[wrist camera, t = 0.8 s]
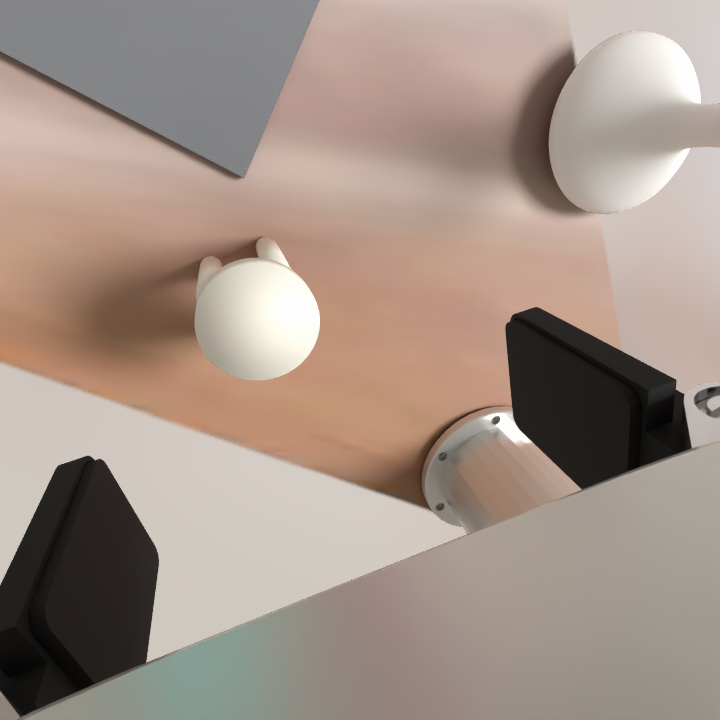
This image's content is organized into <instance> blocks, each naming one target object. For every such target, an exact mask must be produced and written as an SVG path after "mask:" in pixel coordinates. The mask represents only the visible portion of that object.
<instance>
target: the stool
mask: <svg viewBox="0 0 720 720" xmlns="http://www.w3.org/2000/svg"><path fill="white" fill-rule="evenodd" d="M256 251H257V254H258V257H259V258H246V259H240V260H237V261H234V262H231V263H229V264H227V265H225V266H223V267H222V263H221V261H220V260H219V259H218V258H216V257H214V256H207V257H205V258H204V259H203V260H202V261H201V263H200V269H199V276H198V282H197V289H196V301H197V305H196V311H195V324H194V325H195V333H196V337H197V341H198V343H199V345H200V348H201V349H202V351H203V353H204V354H205V355H206V357H207V358H208V359H209V360H210V361H211V362H212V363H213V364H214V365H215V366H216V367H217V368H219V369H220V370H222V371H223V372H225V373H227V374H229V375H232V376H234V377H237V378H241V379H246V380H268V379H273V378H276V377H279V376H282V375H284V374H286V373H288V372H290V371H292V370H293V369H295V368H296V367H297V366H299V365H300V364H301V363H302V362H303V361H304V360H305V359H306V358H307V356H308V355H309V354H310V352H311V351H312V349H313V347H314V345H315V343H316V340H317V337H318V333H319V327H320V317H319V310H318V307H317V303H316V301H315V299H314V296H313V295H312V293H311V291H310V290H309V288H308V287H307V285H306V283H305V282H304V281H303V279H302V278H301V277H300V276H299V275H298V274H297V273H296V272H295V271H293V270H292V269H291V268H290V266H289V265H288V263H287V261H286V259H285V258H284V256H283V254H282V252H281V250H280V249H279V247H278V245H277V243H276V242H275V240H274V239H272V238H271V237H267V236H265V237H261V238H260V239H259V240H258V241H257V243H256Z"/></svg>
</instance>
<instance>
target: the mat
mask: <svg viewBox="0 0 720 720" xmlns="http://www.w3.org/2000/svg"><path fill="white" fill-rule="evenodd" d="M318 2H319V0H0V52H2V53H4V54H6V55H8V56H10V57H12V58H14V59H16V60H18V61H20V62H22V63H24V64H25V65H27V66H29V67H31V68H33V69H35V70H37V71H39V72H41V73H43V74H45V75H47V76H49V77H50V78H52V79H54V80H56V81H58V82H60V83H62V84H64V85H66V86H68V87H70V88H72V89H74V90H75V91H77V92H79V93H81V94H83V95H85V96H87V97H89V98H91V99H93V100H95V101H97V102H99V103H100V104H102V105H104V106H106V107H108V108H110V109H112V110H114V111H116V112H118V113H120V114H122V115H124V116H125V117H127V118H129V119H131V120H133V121H135V122H137V123H139V124H141V125H143V126H145V127H147V128H149V129H150V130H152V131H154V132H156V133H158V134H160V135H162V136H164V137H166V138H168V139H170V140H172V141H174V142H175V143H177V144H179V145H181V146H183V147H185V148H187V149H189V150H191V151H193V152H195V153H197V154H199V155H201V156H202V157H204V158H206V159H208V160H210V161H212V162H214V163H216V164H218V165H220V166H222V167H224V168H226V169H227V170H229V171H231V172H233V173H235V174H237V175H239V176H241V177H243V178H244V177H245V175H246V172H247V170H248V168H249V165H250V163H251V161H252V158H253V156H254V153H255V151H256V149H257V146H258V144H259V142H260V139H261V137H262V135H263V132H264V130H265V128H266V125H267V123H268V120H269V118H270V116H271V113H272V111H273V109H274V106H275V104H276V102H277V99H278V97H279V94H280V92H281V90H282V87H283V85H284V83H285V80H286V78H287V76H288V73H289V71H290V69H291V66H292V64H293V61H294V59H295V57H296V54H297V52H298V50H299V47H300V45H301V43H302V40H303V38H304V35H305V33H306V31H307V28H308V26H309V24H310V21H311V19H312V17H313V14H314V12H315V10H316V7H317V5H318Z"/></svg>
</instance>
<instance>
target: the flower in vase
mask: <svg viewBox="0 0 720 720" xmlns="http://www.w3.org/2000/svg"><path fill="white" fill-rule="evenodd" d="M693 147H720V103H719V104H701V97H700V89H699V84H698V80H697V76H696V73H695V70H694V68H693V65H692V63H691V61H690V59H689V58H688V56H687V54H686V53H685V52H684V51H683V49H682V48H681V47H680V46H679V45H678V44H676V43H675V42H674V41H672V40H670V39H669V38H667V37H665V36H661V35H659V34H656V33H653V32H650V31H642V30H637V31H628V32H624V33H620V34H618V35H615V36H613V37H610V38H609V39H607V40H605V41H604V42H602V43H600V44H599V45H598V46H596V47H595V48H594V49H593V50H591V51H590V52H589V53H588V54H587V55H586V56H585V57H584V58H583V59H582V60H581V62H580V63H579V64H578V65H577V67H576V68H575V69H574V70H573V72H572V73H571V75H570V77H569V78H568V80H567V81H566V83H565V85H564V87H563V89H562V91H561V93H560V95H559V98H558V100H557V103H556V106H555V108H554V112H553V116H552V119H551V125H550V131H549V156H550V162H551V167H552V170H553V174H554V177H555V179H556V182H557V184H558V186H559V187H560V189H561V191H562V192H563V194H564V195H565V196H566V197H567V198H568V200H569V201H571V202H572V203H573V204H574V205H575V206H577V207H579V208H581V209H582V210H585V211H588V212H590V213H596V214H611V213H617V212H620V211H623V210H627V209H630V208H633V207H635V206H637V205H639V204H641V203H643V202H644V201H646V200H648V199H649V198H651V197H652V196H653V195H655V194H656V193H657V192H658V191H659V190H660V189H661V188H662V187H664V186H665V185H666V183H667V182H668V181H669V180H670V179H671V178H672V176H673V175H674V174H675V172H676V171H677V170H678V168H679V167H680V166H681V164H682V163H683V161H684V159H685V158H686V155H687V154H688V152H689V150H690V148H693Z"/></svg>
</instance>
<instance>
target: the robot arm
mask: <svg viewBox="0 0 720 720" xmlns="http://www.w3.org/2000/svg"><path fill="white" fill-rule="evenodd" d="M506 341H507V353H508V364H509V375H510V387H511V398H512V407H507V406H503V407H491V408H486V409H482V410H479V411H477V412H474V413H472V414H469V415H467V416H466V417H464V418H462V419H461V420H459V421H457V422H456V423H455V424H453V425H452V426H451V427H450V428H448V429H447V430H446V431H445V432H444V433H443V434H442V435H441V436H440V438H439V439H438V440H437V441H436V443H435V444H434V445H433V447H432V448H431V450H430V452H429V454H428V456H427V458H426V460H425V463H424V467H423V471H422V483H421V485H422V490H423V495H424V497H425V499H426V501H427V503H428V505H429V506H430V508H431V510H432V511H433V513H434V514H436V515H437V516H438V517H439V518H440V519H441V520H443V521H445V522H447V523H449V524H452V525H456V526H460V527H463V528H464V530H465V531H466V533H467V535H464V536H462V537H459V538H457V539H454V540H452V541H449V542H447V543H444V544H442V545H439V546H437V547H434V548H432V549H429V550H426V551H424V552H422V553H419V554H416V555H414V556H411V557H409V558H407V559H404V560H401V561H399V562H396V563H394V564H391V565H389V566H386V567H384V568H381V569H378V570H376V571H373V572H371V573H369V574H366V575H364V576H361V577H359V578H356V579H353V580H351V581H348V582H346V583H343V584H341V585H338V586H336V587H333V588H331V589H328V590H326V591H323V592H321V593H318V594H316V595H313V596H311V597H308V598H306V599H303V600H301V601H298V602H296V603H293V604H291V605H288V606H286V607H283V608H281V609H278V610H276V611H274V612H271V613H269V614H266V615H264V616H261V617H259V618H256V619H254V620H251V621H249V622H246V623H244V624H241V625H239V626H236V627H234V628H231V629H229V630H227V631H224V632H221V633H219V634H217V635H214V636H211V637H209V638H207V639H204V640H201V641H199V642H197V643H194V644H192V645H189V646H187V647H185V648H182V649H179V650H177V651H174V652H172V653H169V654H167V655H164V656H162V657H159V658H157V659H154V660H152V661H150V662H147V663H146V660H147V652H148V644H149V636H150V629H151V620H152V613H153V605H154V597H155V590H156V582H157V574H158V566H159V558H158V553H157V550H156V547H155V545H154V543H153V542H152V540H151V538H150V537H149V535H148V533H147V532H146V530H145V529H144V527H143V525H142V523H141V522H140V520H139V518H138V517H137V515H136V513H135V512H134V510H133V508H132V507H131V505H130V503H129V502H128V500H127V498H126V497H125V495H124V493H123V492H122V490H121V488H120V487H119V485H118V483H117V481H116V480H115V478H114V477H113V475H112V473H111V471H110V470H109V468H108V466H107V465H106V463H105V462H104V461H103V460H101V459H98V460H94V459H93V458H92V457H90V456H86V457H82V458H80V459H76V460H74V461H70V462H67V463H64V464H61V465H59V466H58V467H57V468H56V470H55V472H54V474H53V476H52V478H51V480H50V482H49V484H48V486H47V489H46V491H45V493H44V495H43V497H42V499H41V501H40V503H39V505H38V507H37V510H36V512H35V514H34V516H33V518H32V520H31V522H30V524H29V526H28V528H27V531H26V533H25V535H24V537H23V539H22V541H21V543H20V545H19V547H18V549H17V552H16V554H15V556H14V558H13V560H12V562H11V564H10V566H9V568H8V570H7V573H6V575H5V577H4V579H3V581H2V583H1V585H0V720H720V382H710V383H704V384H699V385H697V386H695V387H693V388H691V389H689V390H688V391H687V393H686V394H683V393H681V392H679V391H677V390H676V379H674V378H672V377H670V376H668V375H666V374H664V373H662V372H660V371H658V370H656V369H655V368H653V367H651V366H649V365H647V364H645V363H643V362H641V361H639V360H637V359H635V358H634V357H632V356H630V355H628V354H626V353H624V352H622V351H620V350H618V349H617V348H615V347H613V346H611V345H609V344H607V343H605V342H603V341H601V340H599V339H597V338H596V337H594V336H592V335H590V334H588V333H586V332H584V331H582V330H580V329H578V328H577V327H575V326H573V325H571V324H569V323H567V322H565V321H563V320H561V319H559V318H557V317H556V316H554V315H552V314H550V313H548V312H546V311H544V310H542V309H540V308H538V307H535V308H531V309H528V310H525V311H522V312H519V313H516V314H513V316H512V317H511V320H510V322H508V323H507V324H506Z"/></svg>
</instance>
